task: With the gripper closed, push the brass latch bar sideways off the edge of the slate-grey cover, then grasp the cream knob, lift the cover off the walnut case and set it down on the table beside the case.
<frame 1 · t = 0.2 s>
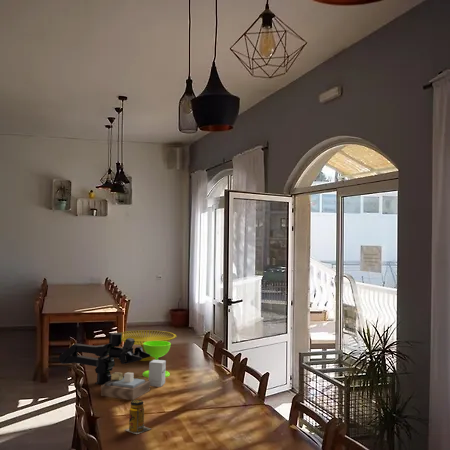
hand: (145, 357, 290), 17 cm above the table, tool horizontal, fingers open, 9 cm apart
case: (125, 393, 282), on the table
cake stand: (145, 358, 361), on the table
condiment: (138, 430, 230), on the table
supplement box: (156, 385, 300), on the table
latch: (117, 376, 284), point 8 cm above the table, slide at 0.0 cm
cover: (128, 383, 282), point 5 cm above the table, touching case
wineglass: (156, 374, 321), on the table
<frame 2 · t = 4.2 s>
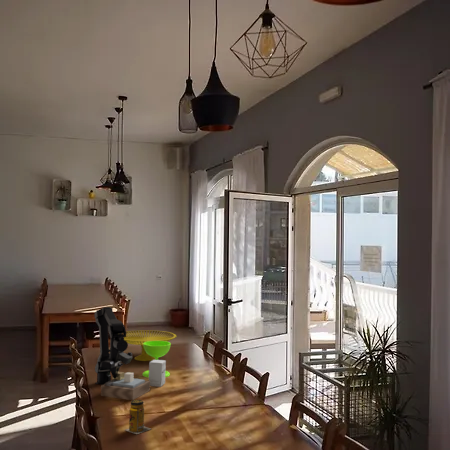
hand: (114, 378, 282), 7 cm above the table, tool pointing down, fingers closed
latch: (118, 375, 285), point 8 cm above the table, slide at 1.2 cm, touching gripper
everything else where it was.
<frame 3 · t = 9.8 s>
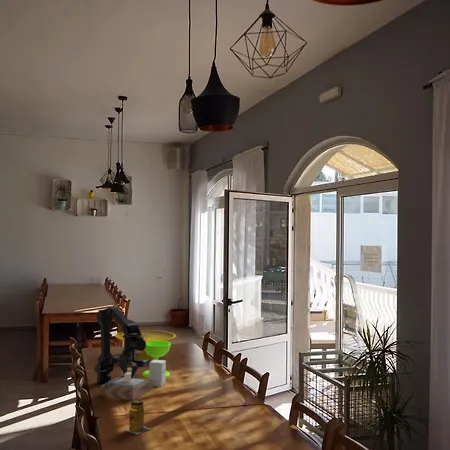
hand: (128, 378, 282), 8 cm above the table, tool pointing down, fingers closed on cover, 3 cm apart
latch: (127, 371, 294), point 8 cm above the table, slide at 10.3 cm
cover: (128, 383, 282), point 5 cm above the table, touching case, gripper
everything else where it was.
when the fingers open (4 cm above the table, at t = 14.6 s): cover drops 2 cm, on the table.
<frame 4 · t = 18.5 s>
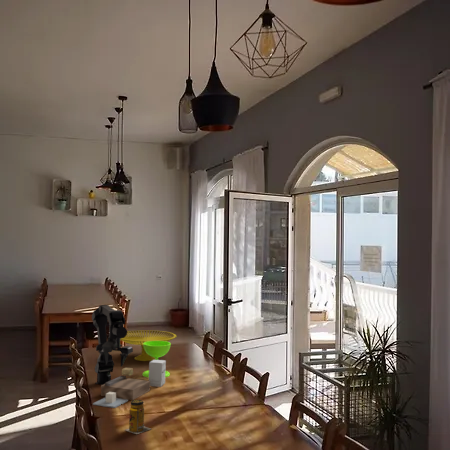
hand: (113, 365, 286), 13 cm above the table, tool pointing down, fingers open, 9 cm apart
cover: (110, 404, 266), on the table
everything else where it was.
at the end: latch slide at 10.3 cm; cover inside the target area (0.0 cm from its centre), on the table; cover tilted 0° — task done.
